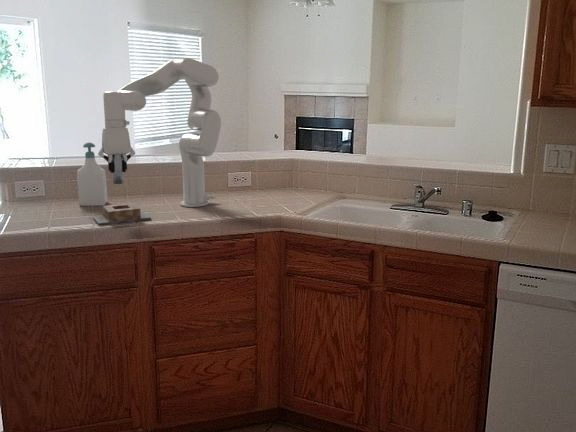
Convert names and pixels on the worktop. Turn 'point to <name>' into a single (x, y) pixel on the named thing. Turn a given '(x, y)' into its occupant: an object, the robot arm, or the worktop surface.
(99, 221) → the docking mount
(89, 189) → the soap bottle
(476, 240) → the worktop surface
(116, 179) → the grey metallic cylinder
